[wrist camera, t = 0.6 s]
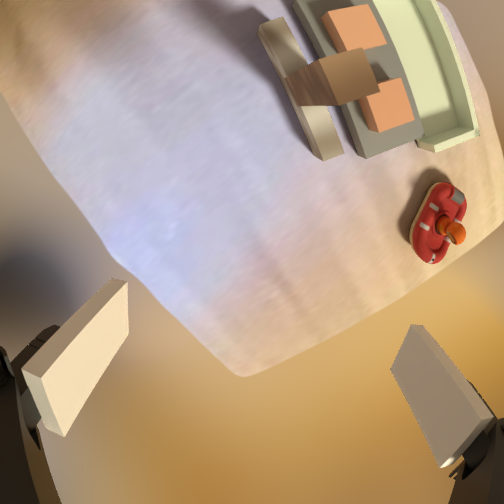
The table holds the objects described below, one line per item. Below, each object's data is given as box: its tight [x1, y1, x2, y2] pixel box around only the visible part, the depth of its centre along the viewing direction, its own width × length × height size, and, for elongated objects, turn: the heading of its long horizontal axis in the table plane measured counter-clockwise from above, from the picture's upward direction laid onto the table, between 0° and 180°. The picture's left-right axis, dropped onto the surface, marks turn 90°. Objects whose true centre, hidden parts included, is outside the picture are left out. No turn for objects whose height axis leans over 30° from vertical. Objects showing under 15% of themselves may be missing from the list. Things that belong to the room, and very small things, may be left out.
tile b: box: [358, 78, 415, 133], centre depth 27 cm, size 5×5×2 cm
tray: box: [373, 0, 480, 153], centre depth 25 cm, size 22×9×4 cm, turn 25°
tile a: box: [321, 4, 387, 53], centre depth 23 cm, size 5×5×2 cm
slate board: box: [292, 0, 425, 159], centre depth 27 cm, size 20×9×2 cm, turn 25°
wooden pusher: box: [257, 17, 380, 161], centre depth 22 cm, size 16×3×16 cm, turn 25°
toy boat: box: [409, 182, 467, 264], centre depth 34 cm, size 8×12×8 cm, turn 160°
